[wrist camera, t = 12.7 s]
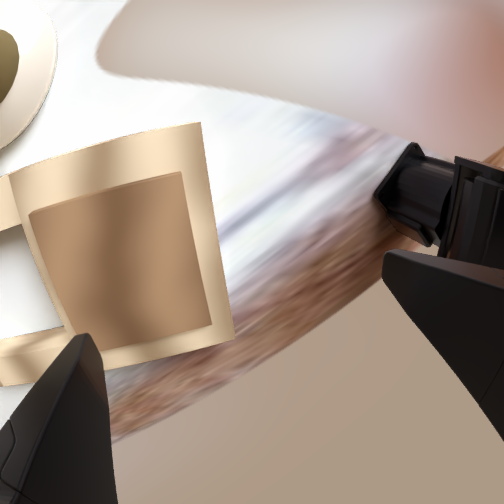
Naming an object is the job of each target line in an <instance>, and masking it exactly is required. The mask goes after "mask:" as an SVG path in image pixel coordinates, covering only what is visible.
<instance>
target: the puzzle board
mask: <svg viewBox="0 0 504 504" xmlns="http://www.w3.org/2000/svg"><path fill="white" fill-rule="evenodd" d="M19 224H22V226H23V229H24V232H25V235H26V238H27V241H28V244H29V247H30V249H31V252H32V255H33V257H34V260H35V263H36V265H37V268H38V270H39V273H40V275H41V278H42V280H43V282H44V285H45V287H46V289H47V292H48V294H49V296H50V298H51V300H52V303H53V305H54V307H55V309H56V311H57V313H58V315H59V317H60V319H61V321H62V323H63V325H64V326H62V327H58V328H53V329H49V330H44V331H39V332H35V333H30V334H25V335H20V336H15V337H11V338H6V339H1V340H0V387H1V386H10V385H18V384H26V383H33V382H37V381H38V379H39V378H40V377H41V376H42V374H43V373H44V372H45V371H46V369H47V368H48V367H49V366H50V365H51V363H52V362H53V361H54V360H55V358H56V357H57V356H58V355H59V354H60V352H61V351H62V350H63V349H64V348H65V346H66V345H67V344H68V343H69V342H70V340H71V339H72V338H73V337H74V336H75V335H78V334H83V333H89V334H90V335H91V337H92V339H93V341H94V343H95V345H96V346H97V348H98V350H99V352H100V354H101V356H102V360H103V366H104V371H105V370H110V369H115V368H120V367H124V366H129V365H134V364H138V363H143V362H147V361H152V360H156V359H160V358H164V357H169V356H173V355H177V354H181V353H185V352H189V351H193V350H197V349H200V348H204V347H208V346H212V345H215V344H219V343H223V342H226V341H230V340H233V339H236V336H235V331H234V326H233V320H232V315H231V309H230V304H229V298H228V293H227V287H226V282H225V276H224V270H223V264H222V258H221V253H220V247H219V241H218V235H217V229H216V222H215V216H214V210H213V204H212V197H211V191H210V184H209V178H208V171H207V164H206V157H205V150H204V143H203V136H202V129H201V122H190V123H185V124H179V125H174V126H169V127H164V128H159V129H154V130H149V131H145V132H140V133H136V134H132V135H128V136H124V137H120V138H116V139H112V140H108V141H104V142H101V143H97V144H93V145H90V146H86V147H83V148H80V149H76V150H73V151H70V152H67V153H64V154H61V155H58V156H55V157H52V158H49V159H46V160H43V161H40V162H37V163H34V164H32V165H29V166H26V167H24V168H21V169H19V170H16V171H13V172H11V173H8V174H6V175H4V176H1V177H0V231H2V230H5V229H7V228H10V227H13V226H16V225H19Z"/></svg>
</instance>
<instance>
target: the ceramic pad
mask: <svg viewBox="0 0 504 504" xmlns="http://www.w3.org/2000/svg"><path fill="white" fill-rule="evenodd" d="M0 29H1V30H5V31H6V32H8V33H10V34H11V35H12V36H13V37H14V39H15V41H16V42H17V44H18V50H19V64H18V72H17V74H16V77H15V80H14V83H13V85H12V87H11V89H10V91H9V92H8V94H7V96H6V97H5V99H4V100H3V101H2V102H1V103H0V149H2V148H4V147H5V146H7V145H8V144H10V143H11V142H12V141H13V140H14V139H16V138H17V137H18V136H19V135H20V134H21V133H22V132H23V131H24V130H25V129H26V127H27V126H28V125H29V124H30V123H31V121H32V120H33V119H34V117H35V116H36V114H37V113H38V111H39V109H40V108H41V106H42V104H43V102H44V100H45V98H46V96H47V94H48V91H49V89H50V86H51V83H52V81H53V77H54V73H55V69H56V63H57V55H58V43H57V35H56V31H55V27H54V25H53V22H52V20H51V19H50V17H49V16H48V14H47V13H46V12H45V11H44V10H43V9H42V8H41V7H40V6H39V5H38V4H37V3H35V2H34V1H32V0H0Z"/></svg>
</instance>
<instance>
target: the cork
mask: <svg viewBox="0 0 504 504" xmlns="http://www.w3.org/2000/svg"><path fill="white" fill-rule="evenodd" d="M18 64H19V50H18V44H17V42H16V41H15V39H14V37H13V36H12V35H11V34H10V33H8V32H6V31H5V30H1V29H0V103H1V102H2V101H3V100H4V99H5V97H6V96H7V94H8V92H9V91H10V89H11V87H12V85H13V83H14V80H15V77H16V74H17V72H18Z"/></svg>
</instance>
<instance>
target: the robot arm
mask: <svg viewBox="0 0 504 504" xmlns="http://www.w3.org/2000/svg"><path fill="white" fill-rule="evenodd" d="M454 163H455V164H453V163H450V162H447V161H443V160H440V159H436V158H432V157H429V156H425V154H424V153H423V151H422V149H421V148H420V146H419V145H418V143H414V142H411V143H410V145H409V146H408V147H407V149H406V150H405V152H404V153H403V154H402V156H401V157H400V159H399V160H398V161H397V163H396V164H395V166H394V167H393V168H392V170H391V171H390V173H389V174H388V175H387V177H386V178H385V179H384V181H383V182H382V183H381V185H380V186H379V188H378V189H377V190H376V192H375V198H376V199H377V201H378V202H379V203H380V204H381V206H382V207H383V208H384V209H385V211H386V217H387V218H388V219H389V220H390V222H391V223H392V224H393V225H394V227H395V228H396V229H397V231H399V232H400V233H402V234H404V235H406V236H408V237H409V238H411V239H413V240H415V241H417V242H418V243H420V244H422V245H424V246H426V247H431V245H432V244H434V245H437V246H438V247H439V250H438V254H437V256H432V255H427V254H422V253H416V252H411V251H406V250H400V249H392V250H389V251H387V252H385V254H384V256H383V266H382V279H383V281H384V283H385V284H386V286H387V287H388V288H389V290H390V291H391V293H392V294H393V295H394V296H395V298H396V299H397V301H398V302H399V304H400V305H401V306H402V308H403V309H404V311H405V312H406V314H407V315H408V316H409V317H410V319H411V320H412V321H413V322H414V323H415V324H416V326H417V327H418V328H419V329H420V330H421V332H422V333H423V334H424V335H425V337H426V338H427V339H428V340H429V341H430V343H431V344H432V345H433V346H434V347H435V349H436V350H437V351H438V352H439V354H440V355H441V356H442V357H443V359H444V360H445V361H446V363H447V364H448V365H449V366H450V368H451V369H452V370H453V371H454V373H455V374H456V375H457V376H458V378H459V379H460V380H461V382H462V383H463V385H464V386H465V387H466V388H467V390H468V391H469V393H470V394H471V395H472V397H473V398H474V399H475V401H476V402H477V403H478V404H479V407H480V408H481V409H482V411H483V412H484V414H485V415H486V416H487V418H488V419H489V421H490V422H491V423H492V425H493V426H494V428H495V429H496V431H497V432H498V434H499V435H500V437H501V438H502V440H503V441H504V169H503V168H500V167H497V166H494V165H491V164H487V163H484V162H480V161H476V160H472V159H467V158H463V157H458V156H455V160H454ZM380 194H381V196H380ZM0 504H118V500H117V493H116V485H115V478H114V469H113V459H112V448H111V434H110V416H109V405H108V398H107V391H106V383H105V375H104V366H103V360H102V356H101V354H100V352H99V350H98V348H97V346H96V345H95V343H94V341H93V339H92V337H91V335H90V334H89V333H83V334H78V335H75V336H74V337H73V338H72V339H71V340H70V342H69V343H68V344H67V345H66V346H65V348H64V349H63V350H62V351H61V352H60V354H59V355H58V356H57V357H56V358H55V360H54V361H53V362H52V363H51V365H50V366H49V367H48V368H47V369H46V371H45V372H44V373H43V374H42V376H41V377H40V378H39V379H38V381H37V382H36V383H35V385H34V386H33V387H32V388H31V390H30V391H29V392H28V394H27V395H26V396H25V398H24V399H23V400H22V401H21V403H20V404H19V405H18V407H17V408H16V410H15V411H14V412H13V414H12V415H11V416H10V420H7V422H6V423H5V425H4V426H3V427H2V429H1V430H0Z"/></svg>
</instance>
